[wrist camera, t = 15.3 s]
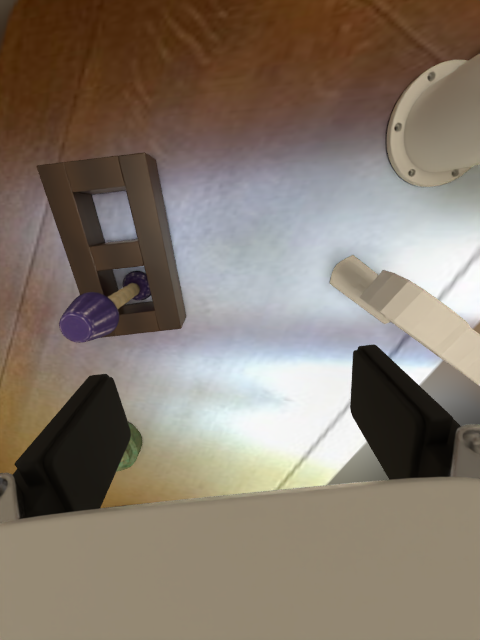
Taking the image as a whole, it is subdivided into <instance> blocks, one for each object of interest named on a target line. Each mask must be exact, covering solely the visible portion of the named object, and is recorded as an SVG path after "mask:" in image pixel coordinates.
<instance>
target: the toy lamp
mask: <svg viewBox="0 0 480 640" xmlns="http://www.w3.org/2000/svg"><path fill="white" fill-rule="evenodd" d="M150 295H151V292H150V288H149V283H148V279H147V275H146V274H145V273H143V272H140V271H133V272H130V273H128V274H127V275H126V276H125V278H124V280H123V289H120V290H118V291H117V292H115V293H113V294H112V295H111V296H108V297H106V296H105V295H103V294H100V293H97V292H88V293H84V294H81V295H80V296H78V297H77V298H76V299H75V300H74V301H73V302H72V303H71V304H70V306H69V307H68V308H67V310H66V311H65V312H64V314H63V315H62V317H61V319H60V323H59V326H60V330H61V332H62V334H63V335H64V336H65V337H66V338H67V339H69V340H71V341H73V342H79V343H81V342H87V341H90V340H94V339H97V338H100V337H103V336H106V335H108V334H110V333H111V332H112V331H114V330H115V328H116V327H117V325H118V322H119V312H118V309H119V308H120V307H121V306H123V305H124V304H125V303H127V302H129V301H130V299H134V300H144V299H146V298H148V297H149V296H150Z"/></svg>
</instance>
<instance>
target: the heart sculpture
mask: <svg viewBox="0 0 480 640" xmlns="http://www.w3.org/2000/svg"><path fill="white" fill-rule="evenodd" d="M330 284H331V285H332V286H333V287H335V288H336V289H338V290H339V291H340V292H342V293H343V294H344V295H346V296H347V297H348V298H350V299H351V300H352V301H354V302H355V303H357V304H358V305H359V306H361V307H362V308H363V309H365V310H366V311H367V312H369V313H370V314H372V315H373V316H374V317H376V318H377V319H378V320H380V321H381V322H382V323H384V324H386V323H388V322H392V323H393V324H395V325H396V326H397V327H399V328H400V329H402V330H403V331H404V332H406V333H407V334H408V335H410V336H411V337H413V338H414V339H415V340H417V341H418V342H419V343H421V344H422V345H423V346H425V347H426V348H428V349H429V350H430V351H432V352H433V353H434V354H436V355H437V356H439V357H440V358H441V359H443V360H444V361H445V362H447V363H448V364H450V365H451V366H453V367H454V368H455V369H457V370H458V371H459V372H461V373H462V374H464V375H465V376H467V377H468V378H469V379H471V380H472V381H473V382H475V383H476V384H478V385H479V386H480V334H479V333H477V332H476V331H474V330H473V329H471V328H470V327H469V325H468V323H467V322H466V321H465V320H464V319H463V318H461V317H460V316H459V315H458V314H456V313H455V312H454V311H453V310H451V309H450V308H449V307H447V306H446V305H445V304H443V303H442V302H440V301H439V300H438V299H436V298H435V297H434V296H432V295H431V294H429V293H428V292H427V291H425V290H424V289H422V288H421V287H419V286H417V285H416V284H414V283H413V282H411V281H410V280H408V279H405V278H403V277H401V276H399V275H397V274H395V273H391V272H388V271H385V270H383V271H382V272H381V273H380V274H379V275H378V274H377V273H375V272H374V271H373V270H371V269H370V268H369V267H368V266H366V265H365V264H364V263H363V262H361V261H360V260H359V259H358V258H356V257H355V256H354V255H352V256H350V257H348V258H346V259H344V260H342V261H341V262H339V263H338V264H337V265H336V266H335V268H334V270H333V272H332V275H331V279H330Z"/></svg>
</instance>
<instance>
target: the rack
mask: <svg viewBox="0 0 480 640" xmlns="http://www.w3.org/2000/svg"><path fill="white" fill-rule="evenodd" d="M37 169H38V172H39V175H40V178H41V181H42V183H43V186H44V189H45V192H46V195H47V198H48V201H49V204H50V207H51V210H52V213H53V216H54V219H55V222H56V225H57V228H58V231H59V234H60V237H61V239H62V242H63V245H64V248H65V251H66V254H67V257H68V260H69V263H70V266H71V269H72V272H73V275H74V278H75V281H76V284H77V287H78V290H79V292H80V295H81V294H84V293H88V292H97V293H100V294H103V295H105V296H106V297H108V296H111V295H112V294H113V293H115V292H117V291H118V288H117V284H116V281H115V277H114V274H113V270H112V269H119V268H128V267H137V266H144V267H145V271H146V275H147V279H148V283H149V288H150V292H151V296H152V300H153V302H145V303H136V304H127V305H123V306H121V307H120V308H119V309H118V312H119V322H118V325H117V327H116V328H115V330H114V331H112V332H111V333H110V334H108V335H106V336H103V337H110V336H119V335H128V334H137V333H146V332H155V331H164V330H173V329H181V328H182V325H183V323H184V321H185V318H186V313H185V308H184V303H183V298H182V292H181V287H180V282H179V277H178V272H177V267H176V262H175V257H174V252H173V246H172V241H171V236H170V231H169V226H168V221H167V216H166V211H165V205H164V200H163V195H162V190H161V185H160V180H159V175H158V170H157V165H156V160H155V159H154V158H152V157H151V156H149V155H148V154H146V153H137V154H129V155H121V156H112V157H104V158H95V159H87V160H79V161H70V162H64V163H63V162H62V163H54V164H46V165H38V166H37ZM124 190H126V191H127V196H128V200H129V204H130V208H131V212H132V217H133V221H134V225H135V229H136V233H137V237H138V239H132V240H123V241H115V242H106V243H105V242H104V238H103V235H102V231H101V228H100V224H99V221H98V217H97V214H96V210H95V207H94V203H93V200H92V196H91V194H99V193H107V192H116V191H124ZM100 338H101V337H100Z"/></svg>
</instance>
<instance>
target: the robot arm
mask: <svg viewBox="0 0 480 640" xmlns="http://www.w3.org/2000/svg"><path fill="white" fill-rule="evenodd" d="M394 127H395V128H396V130H395V129H394ZM387 152H388V156H389V160H390V162H391V164H392V167H393V169H394V170H395V171H396V173H397V174H398V175H399V176H400V177H401V178H402V179H403V180H405V181H406V182H408V183H410V184H412V185H416V186H420V187H432V186H439V185H443V184H446V183H449V182H451V181H453V180H455V179H457V178H459V177H460V176H462V175H463V174H464V173H466V172H467V171H468V170H469V169H470V168H471V167H472V166H476V165H480V54H478V55H476V56H475V57H473V58H472V59H470V60H469V61H466V60H451V61H446V62H442V63H440V64H438V65H436V66H433V67H431V68H430V69H428V70H427V71H425V72H424V73H422V74H421V75H420V76H419V77H418V78H416V79H415V80H414V81H413V82H412V83H411V84H410V85H409V86H408V87H407V88H406V90H405V91H404V92H403V94H402V95H401V97H400V98H399V100H398V101H397V103H396V105H395V107H394V110H393V112H392V114H391V117H390V121H389V124H388V130H387ZM408 172H409V175H408ZM350 408H351V413H352V416H353V418H354V420H355V421H356V423H357V425H358V427H359V428H360V430H361V432H362V433H363V435H364V437H365V439H366V440H367V442H368V444H369V445H370V447H371V449H372V450H373V452H374V454H375V456H376V457H377V459H378V461H379V462H380V464H381V466H382V468H383V469H384V471H385V473H386V475H387V476H388V478H389V480H381V481H368V482H356V483H345V484H335V485H325V486H314V487H304V488H293V489H283V490H273V491H263V492H253V493H243V494H233V495H223V496H213V497H204V498H194V499H184V500H174V501H165V502H156V503H147V504H137V505H128V506H119V507H110V508H100V507H101V505H102V502H103V500H104V498H105V496H106V493H107V491H108V489H109V487H110V484H111V482H112V480H113V478H114V475H115V473H116V471H117V468H118V466H119V464H120V462H121V459H122V457H123V455H124V453H125V450H126V448H127V446H128V444H129V441H130V438H131V431H130V427H129V424H128V421H127V418H126V415H125V412H124V409H123V406H122V403H121V400H120V397H119V394H118V391H117V388H116V385H115V382H114V380H113V378H112V377H109V376H108V375H107V374H101V375H92V376H89V377H88V378H87V379H86V381H85V382H84V383H83V384H82V385H81V386H80V388H79V389H78V390H77V391H76V392H75V393H74V395H73V396H72V397H71V398H70V399H69V400H68V402H67V403H66V404H65V405H64V406H63V408H62V409H61V410H60V411H59V412H58V413H57V415H56V416H55V417H54V418H53V419H52V420H51V422H50V423H49V424H48V425H47V426H46V427H45V429H44V430H43V431H42V432H41V433H40V434H39V436H38V437H37V438H36V439H35V440H34V441H33V443H32V444H31V445H30V446H29V447H28V448H27V450H26V451H25V452H24V453H23V454H22V455H21V457H20V458H19V459H18V460H17V461H16V462H15V465H16V467H17V470H16V471H15V473H14V474H13V475H12V474H9V473H0V640H480V425H478V424H468V425H463V426H460V425H459V424H458V423H457V422H456V421H455V420H454V419H453V417H452V416H451V415H450V414H449V413H448V412H447V411H445V410H444V409H443V408H442V407H441V406H440V405H439V404H438V403H437V402H436V401H435V400H434V399H433V398H431V396H429V395H428V394H427V393H426V392H425V391H424V390H423V389H422V388H421V387H420V386H419V385H418V384H417V383H416V382H415V381H414V380H413V379H411V378H410V377H409V376H408V375H407V374H406V373H405V372H404V371H403V370H402V369H401V368H400V367H399V366H398V365H397V364H396V363H394V362H393V361H392V360H391V359H390V358H389V357H388V356H387V355H386V354H385V353H384V352H383V351H382V350H381V349H380V348H379V347H377V346H376V345H366V346H359V347H358V349H357V350H355V351H354V352H353V366H352V386H351V405H350Z"/></svg>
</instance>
